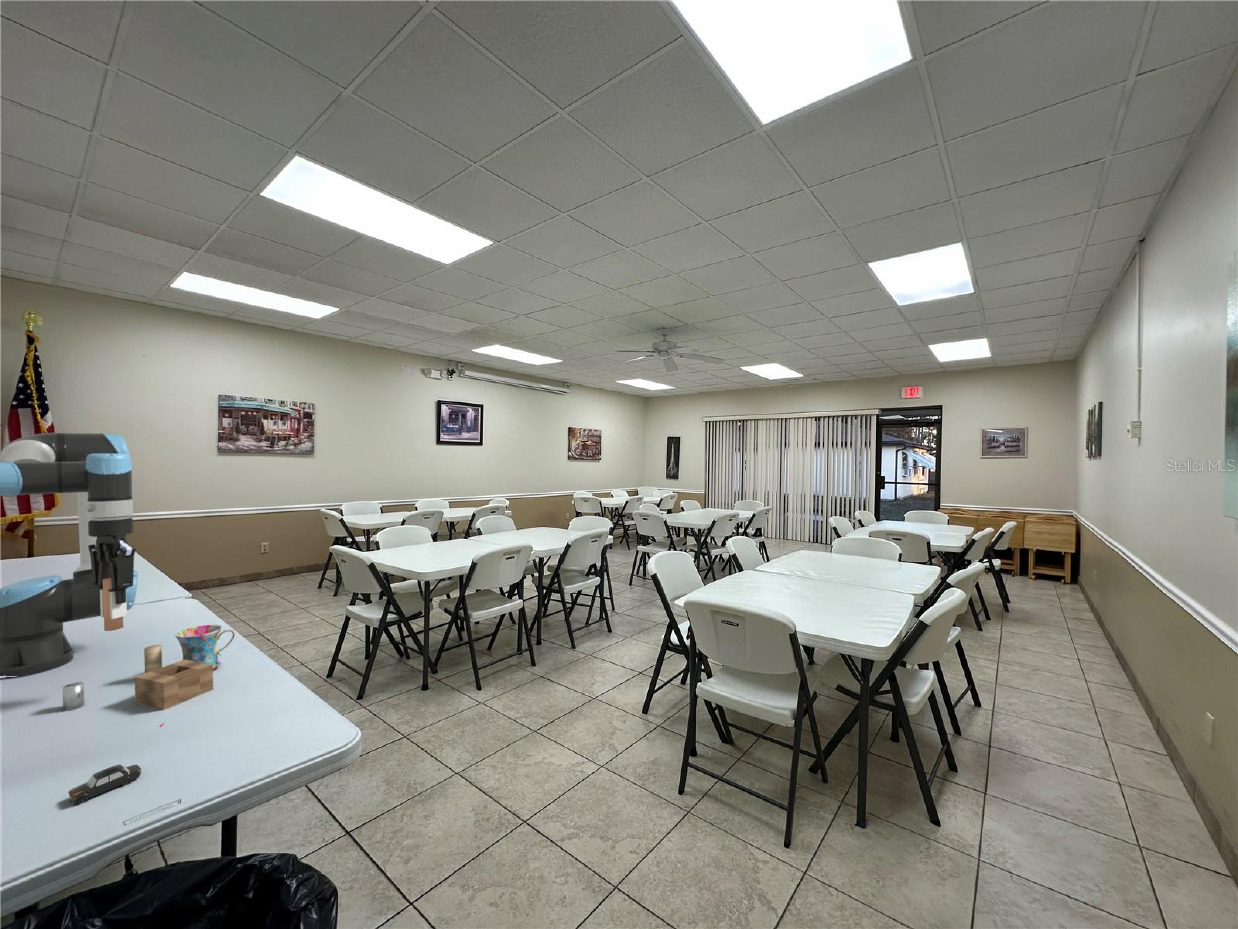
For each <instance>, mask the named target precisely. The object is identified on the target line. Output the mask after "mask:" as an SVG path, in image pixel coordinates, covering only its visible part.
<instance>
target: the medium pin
mask: <svg viewBox="0 0 1238 929" xmlns="http://www.w3.org/2000/svg"><path fill="white" fill-rule="evenodd" d="M162 650H163V649H162V645H161V644H154V645H150V646H146V647H145V648H144V649H143V654H144V655H143V659H144V674H145V673H147V672H150V671H153V670H156V669H159V668H162V667H163V658H162V657H163V654H162Z"/></svg>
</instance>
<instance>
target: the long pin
mask: <svg viewBox="0 0 1238 929" xmlns="http://www.w3.org/2000/svg"><path fill="white" fill-rule="evenodd" d="M109 589H112V582H111V578H107V579H103V605H104V617H103V626H104V627H103V628H104V631H105V632H111V631H117V630H120V629H122V628H124V616H122V617H118V618H114V619H110V592H109V591H108V590H109Z"/></svg>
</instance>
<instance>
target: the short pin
mask: <svg viewBox="0 0 1238 929" xmlns="http://www.w3.org/2000/svg"><path fill="white" fill-rule="evenodd" d="M84 685H85V684H84V681H77V682H72V683H69V684H66V685H64V686H63V687H62V710H63V711H64V712H68V711H69V712H70V711H74V710H78V709H80V708H82V707H84V706H85V686H84Z"/></svg>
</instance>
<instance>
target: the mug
mask: <svg viewBox="0 0 1238 929" xmlns="http://www.w3.org/2000/svg"><path fill="white" fill-rule="evenodd" d="M222 628H223V627H222V625H219V624H207V625H206V624H205V625H199V626H194V627H189V628H186V629H183V630H180V631H178V632H177V633H176V634H175V638H176V639H177V641H178V642H179V645H180V647H181V651H182V660H190V661H195V662H200V663H206V664H211V665H213V670H215V669H217V668H219V667H220V666H221V664H222V661H221V660H220V658H219V657H218V656H222V654H221V653H220V652H221V651H224V650H225V649H226V648H227V647H228V646H229V645H230V644H231V643H232V642H233V640H234V638H235V637H236V636H235V634H236V633H235V631H234V630H232V629H226V630H223V631H222ZM226 632H230V633H232V636H231V639H230V640H229V642H227V643H226V644H225V645H224V646H223V647H222V648H220V649H219V650H217V643H218V641H219V640H220V639H221V638H220V637H221V636H222V634H225V633H226Z"/></svg>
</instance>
